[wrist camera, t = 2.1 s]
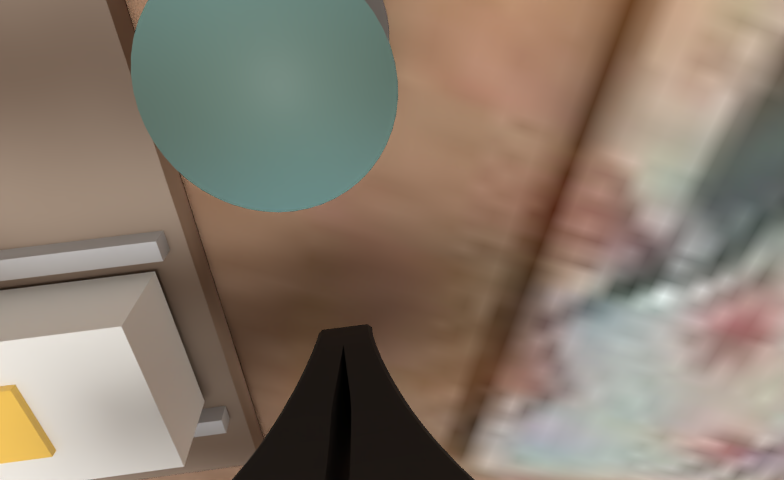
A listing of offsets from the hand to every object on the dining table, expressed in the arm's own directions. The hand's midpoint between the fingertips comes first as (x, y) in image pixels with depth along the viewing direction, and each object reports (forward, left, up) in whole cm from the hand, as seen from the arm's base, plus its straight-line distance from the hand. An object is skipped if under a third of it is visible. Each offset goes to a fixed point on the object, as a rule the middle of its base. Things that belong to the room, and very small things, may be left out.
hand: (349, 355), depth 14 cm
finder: (0, +8, -2) cm, 8 cm away
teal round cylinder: (+8, 0, -3) cm, 8 cm away
